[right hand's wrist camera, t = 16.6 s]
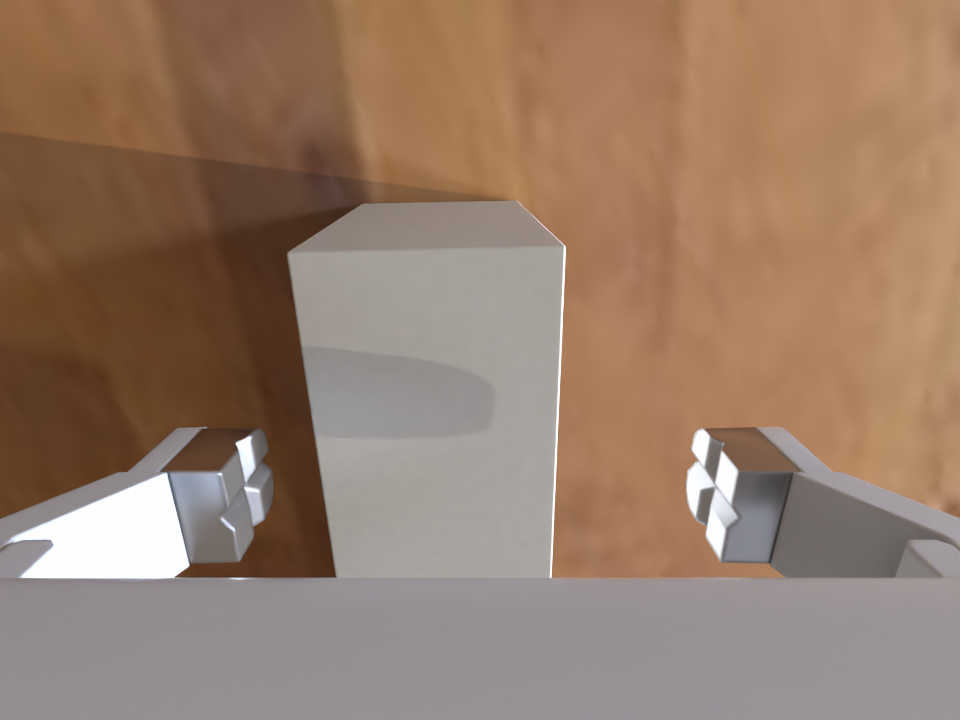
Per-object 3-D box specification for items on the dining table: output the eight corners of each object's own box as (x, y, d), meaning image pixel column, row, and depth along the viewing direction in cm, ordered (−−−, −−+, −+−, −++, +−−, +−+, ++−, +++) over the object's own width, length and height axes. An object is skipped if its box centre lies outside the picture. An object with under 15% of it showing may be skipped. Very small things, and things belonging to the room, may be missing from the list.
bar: (361, 203, 17) (285, 252, 9) (517, 200, 17) (566, 245, 10) (413, 747, 27) (397, 984, 20) (512, 742, 27) (534, 975, 20)
